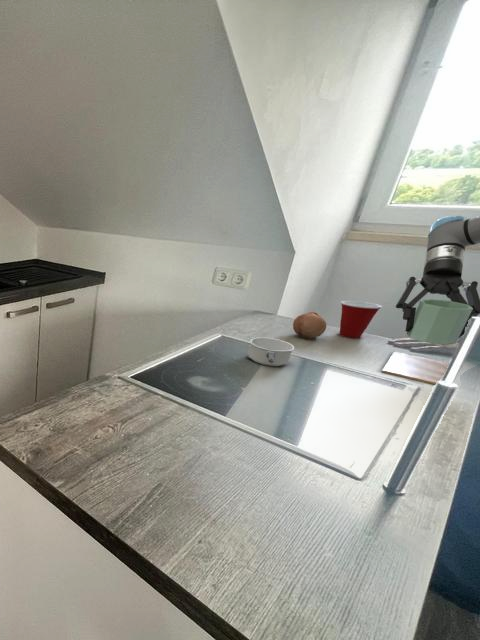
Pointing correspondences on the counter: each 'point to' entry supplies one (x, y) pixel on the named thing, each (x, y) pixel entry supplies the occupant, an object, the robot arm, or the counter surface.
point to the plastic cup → (356, 317)
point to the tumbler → (439, 321)
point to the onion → (309, 325)
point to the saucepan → (270, 351)
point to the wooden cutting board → (415, 367)
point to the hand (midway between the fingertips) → (433, 332)
